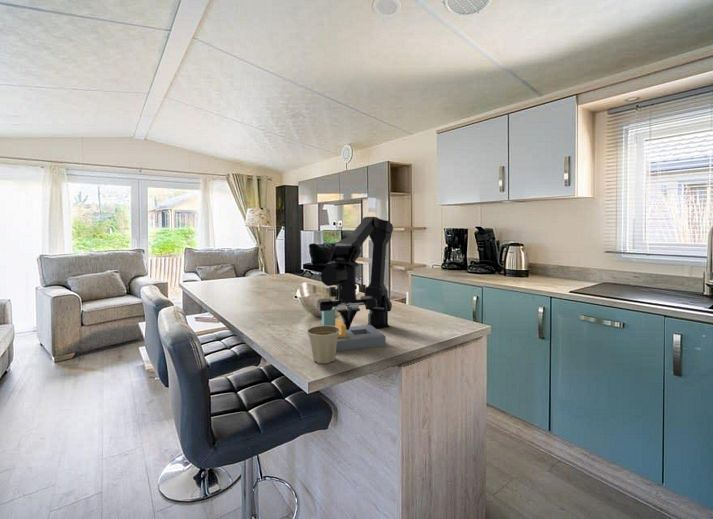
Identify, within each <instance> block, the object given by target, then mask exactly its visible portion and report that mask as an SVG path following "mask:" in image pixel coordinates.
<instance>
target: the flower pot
mask: <svg viewBox="0 0 713 519" xmlns="http://www.w3.org/2000/svg"><path fill="white" fill-rule="evenodd" d="M339 332H340V328H338V327H335V326H322V325H316V326H312V327H310V328H308V329H306V334H308V335H307V336H308V338H309V344H310V347H311V354H312V360H313V362H317V364H329V363H331V362H334V361H335V360H336V355H337V351H336V347H337V339H338V336H339Z"/></svg>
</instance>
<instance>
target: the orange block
mask: <svg viewBox="0 0 713 519" xmlns="http://www.w3.org/2000/svg"><path fill="white" fill-rule="evenodd" d="M335 327H338V328H340V332H339V336H338V338H339V337H346V325H345V324H344V322H343V320H341V319H335Z"/></svg>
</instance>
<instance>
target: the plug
mask: <svg viewBox="0 0 713 519" xmlns="http://www.w3.org/2000/svg"><path fill="white" fill-rule="evenodd" d="M335 320H336V310H335V308H334V307H333V308H332V309H331V310H330V311H321V326H335Z"/></svg>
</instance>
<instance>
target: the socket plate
mask: <svg viewBox="0 0 713 519" xmlns="http://www.w3.org/2000/svg"><path fill="white" fill-rule="evenodd" d="M376 346H377V347H384V346H386V335H385V334H384V333H382V332H380V330H378V328H374V327H373V326H372V325H369V324H366V325H355V326H354V325H353V326H350V328H349V330H346V337H339V338H338V339H337V347H336V352H338V351H340V352H341V351H348V350H349V351H350V350H357V349H366V348H368V349H369V348H374V347H376ZM377 347H376V348H377Z"/></svg>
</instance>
